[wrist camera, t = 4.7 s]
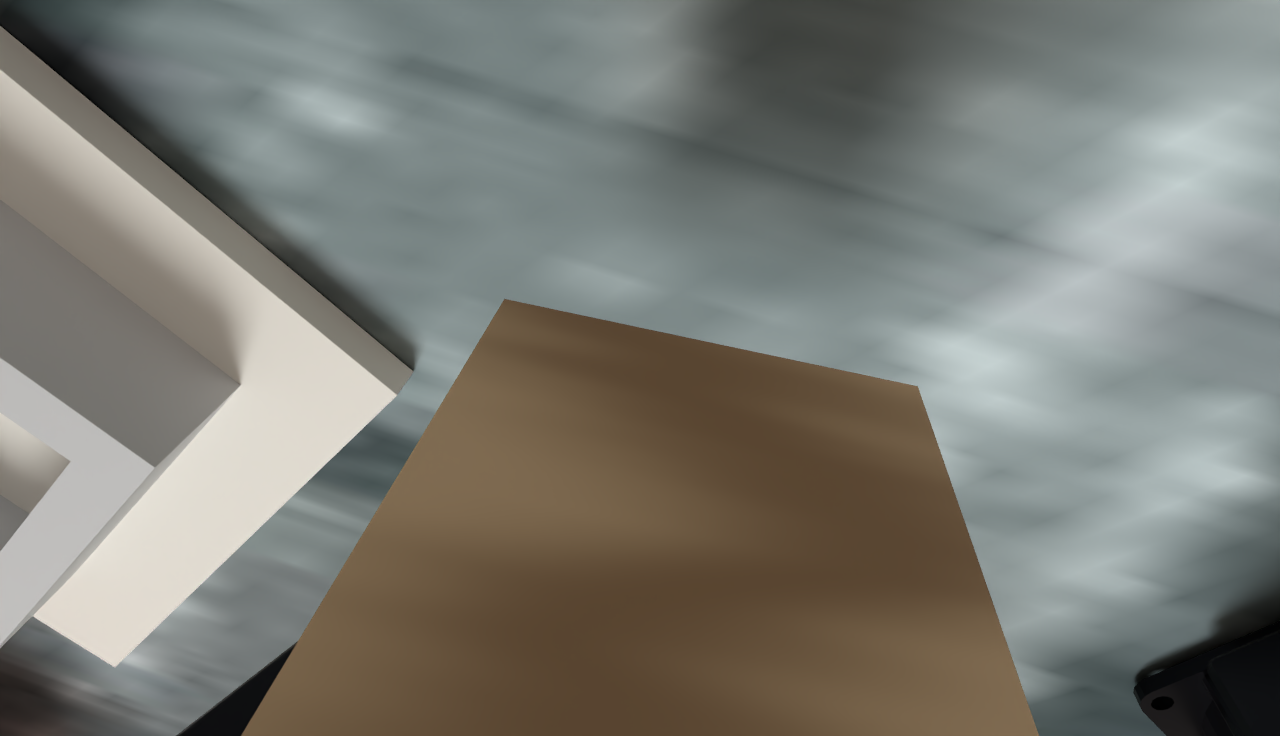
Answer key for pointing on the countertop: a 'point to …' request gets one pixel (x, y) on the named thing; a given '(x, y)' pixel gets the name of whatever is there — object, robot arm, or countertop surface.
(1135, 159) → the countertop surface
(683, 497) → the tan block
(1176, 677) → the robot arm
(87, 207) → the socket plate
